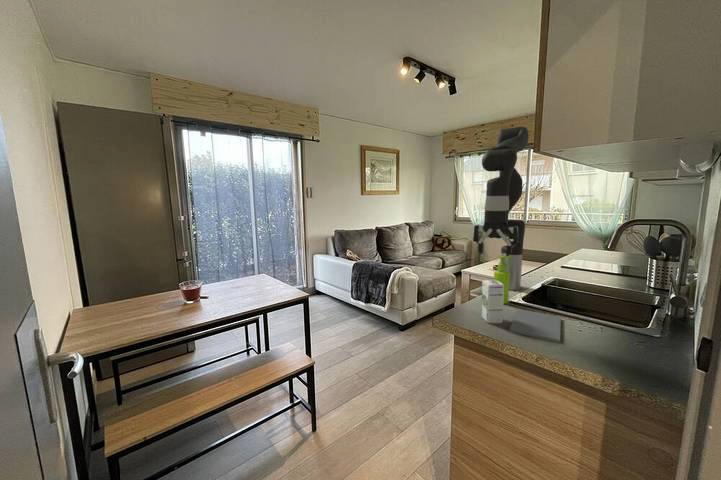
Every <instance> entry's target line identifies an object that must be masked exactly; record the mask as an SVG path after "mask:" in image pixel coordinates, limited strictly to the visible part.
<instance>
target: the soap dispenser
mask: <svg viewBox="0 0 721 480" xmlns="http://www.w3.org/2000/svg"><path fill="white" fill-rule="evenodd" d="M498 258H499V259H500V261H499V262H498V263H497V269H496V270H494V271H493V272H494V274H493V275H494V276H493V280H497V281H499V282H500V283H502V284H503V285H504V300H503V305H507V304H508V303H509V291H510V290H509V278H510V272H508V271H507V264H506V263H505V258H512V259H513V257H511V256H501V255H499V256H498Z"/></svg>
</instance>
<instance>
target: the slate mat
mask: <svg viewBox="0 0 721 480" xmlns="http://www.w3.org/2000/svg"><path fill="white" fill-rule="evenodd" d="M561 319H562V317H561V316H560V315H559V316H558V315H551V314H546V313H541V312H537V311H531V310H525V309H521V308H517V310H516V311H515V314H514V317H513V319H512V322H511V325H510V327H509V332H510V333H514V334H519V335H522V336H527V337H531V338H536V339H540V340H541V339H542V340H545V341H549V342H554V343H559V344H560V343H561V324H562V323H561V321H562V320H561Z"/></svg>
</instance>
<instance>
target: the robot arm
mask: <svg viewBox="0 0 721 480" xmlns="http://www.w3.org/2000/svg"><path fill="white" fill-rule="evenodd" d="M528 143H529V129H528V128H527V127H526V126H515V127H508V128H502V129H501V130H499V131H498V134H497V146H495V147H493V148H491V149H489V150H486V152H484V154H483V156H482V158H481V166H482V168H483V170H484V171H486V172H499V176H497V177H494V178H490V179H488V180H487V181H486V194H485V195H486V196H485V201H484V202H485V203H484V221H483V225H480V224H477V225H474V227H473V237H472V238H473V239H472V241H473V242H475V243H477V244H478V249H477V251H478V253H479V254H480V255H483V254H484V247H485V243H484V242H485V241H486V240H487V239H488V238H489V239H498V240H499V239H502V240H503V242H505V244H506V245H503V246H502V247H501V249H500V256H511V257H513V259H512V258H505V263H506V264H507V271H508V272H510V278H509V291H518V290H521V284H522V283H521V282H522V268H523V265H522V264H523V255H524V254H523V253H524V252H523V251H524V238H525V232H526V231H525V230H526V224H525V221H524V220H521V219H520V220H519V219H518V220H517V219H516V220H515V219H509V215H510V212H511V211H512V209H513V207H514V206H516V204H517V203H518V201H519V200H520V199H521V197H522V195H523V178H522V176H521V174H520V173H519V171H518V170H517V169H516V164H517V160H518V154H517V153H519V152H521V151H522V150H525V148H527V146H528ZM482 230H483V232H484V235H482V237H480V238H479V234H480V232H481V231H482Z"/></svg>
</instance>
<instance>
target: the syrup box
mask: <svg viewBox="0 0 721 480" xmlns="http://www.w3.org/2000/svg"><path fill="white" fill-rule="evenodd" d="M481 290H482V291H481V312H480V313H481V318H482V319H483V320H484V321H485V322H486V323H487V324H502V323H504V322H503V317H504V304H503V300H504V285H503V284H502V283H500V282H499V281H497V280H494V279H488V280H487V279H486V280H482V285H481Z"/></svg>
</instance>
